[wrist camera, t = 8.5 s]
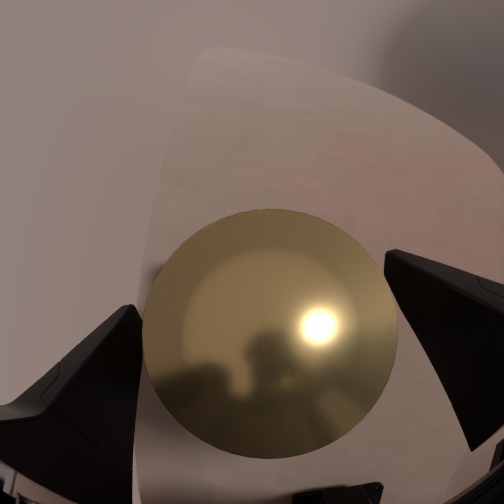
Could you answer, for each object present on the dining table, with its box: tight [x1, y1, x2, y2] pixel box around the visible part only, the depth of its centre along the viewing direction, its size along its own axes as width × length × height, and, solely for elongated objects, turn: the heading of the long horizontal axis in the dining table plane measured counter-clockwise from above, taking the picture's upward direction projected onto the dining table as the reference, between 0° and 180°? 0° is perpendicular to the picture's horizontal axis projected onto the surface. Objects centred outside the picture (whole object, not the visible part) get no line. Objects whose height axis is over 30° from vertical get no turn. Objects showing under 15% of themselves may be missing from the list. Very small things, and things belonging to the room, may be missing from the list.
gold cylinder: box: [142, 209, 398, 459], centre depth 10 cm, size 4×4×12 cm
